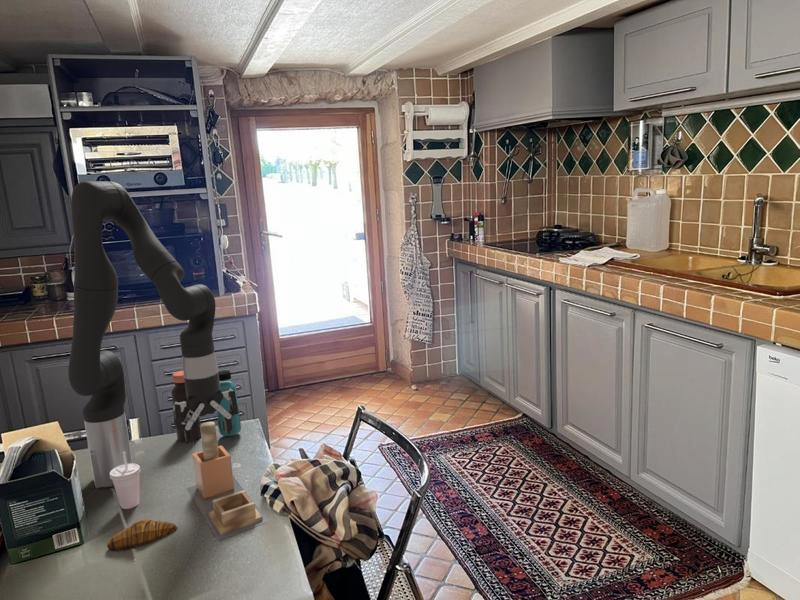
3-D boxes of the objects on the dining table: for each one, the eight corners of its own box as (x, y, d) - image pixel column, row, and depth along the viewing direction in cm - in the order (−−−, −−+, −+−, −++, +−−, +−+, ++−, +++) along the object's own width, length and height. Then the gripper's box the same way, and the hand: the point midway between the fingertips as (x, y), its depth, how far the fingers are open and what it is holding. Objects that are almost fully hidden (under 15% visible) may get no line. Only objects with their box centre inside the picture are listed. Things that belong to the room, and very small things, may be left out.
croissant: (106, 561, 115) (102, 539, 114) (109, 542, 122) (105, 521, 120) (178, 542, 120) (175, 521, 119) (177, 525, 126) (174, 504, 125)
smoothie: (134, 516, 130) (125, 459, 127) (109, 514, 132) (99, 458, 129) (151, 501, 136) (143, 446, 134) (127, 499, 138) (118, 445, 135)
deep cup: (204, 500, 134) (200, 464, 132) (196, 488, 139) (192, 453, 138) (234, 490, 137) (230, 455, 136) (225, 479, 143) (221, 445, 141)
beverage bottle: (245, 431, 173) (238, 367, 169) (237, 441, 167) (229, 375, 163) (224, 431, 174) (217, 368, 170) (215, 441, 167) (207, 375, 163)
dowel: (210, 492, 136) (202, 429, 133) (206, 486, 139) (198, 424, 136) (224, 487, 138) (216, 425, 135) (220, 482, 141) (212, 420, 137)
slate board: (218, 544, 118) (218, 540, 118) (187, 492, 140) (186, 488, 140) (269, 525, 124) (269, 521, 124) (232, 477, 146) (231, 474, 145)
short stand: (220, 535, 120) (218, 518, 119) (208, 515, 127) (206, 500, 127) (262, 519, 125) (260, 503, 124) (248, 501, 132) (246, 486, 131)
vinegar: (206, 435, 172) (198, 371, 168) (187, 444, 166) (179, 378, 162) (191, 431, 175) (183, 368, 171) (172, 439, 170) (163, 375, 166)
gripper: (226, 362, 139) (234, 424, 143) (164, 375, 132) (174, 441, 135) (236, 369, 133) (244, 434, 136) (172, 383, 126) (182, 452, 129)
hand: (209, 438), depth 136 cm, fingers open, 8 cm apart
